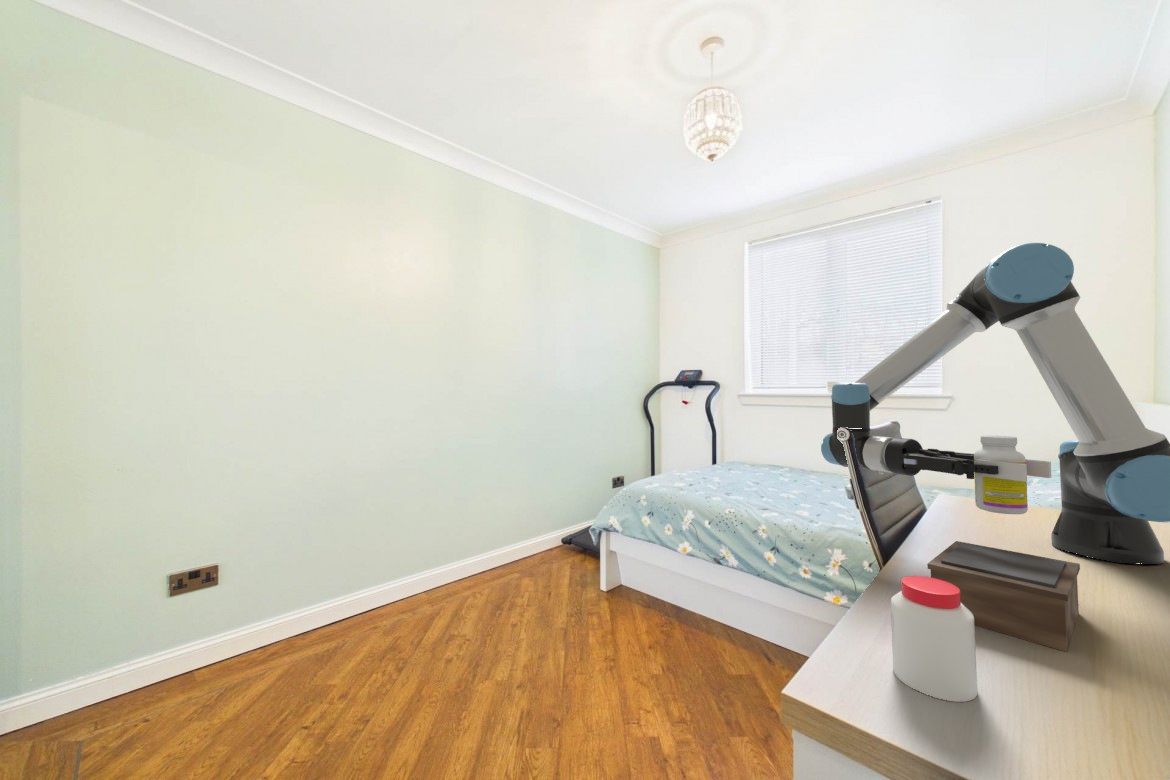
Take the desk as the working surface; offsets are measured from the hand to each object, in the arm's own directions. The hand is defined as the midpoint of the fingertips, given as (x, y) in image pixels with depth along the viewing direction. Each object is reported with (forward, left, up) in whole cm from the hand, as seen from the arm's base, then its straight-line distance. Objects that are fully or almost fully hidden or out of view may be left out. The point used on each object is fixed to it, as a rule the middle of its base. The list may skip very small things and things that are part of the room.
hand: (1037, 471), depth 73 cm
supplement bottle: (+1, -5, -8) cm, 9 cm away
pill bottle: (+36, +15, -21) cm, 44 cm away
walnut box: (+11, +3, -20) cm, 24 cm away
